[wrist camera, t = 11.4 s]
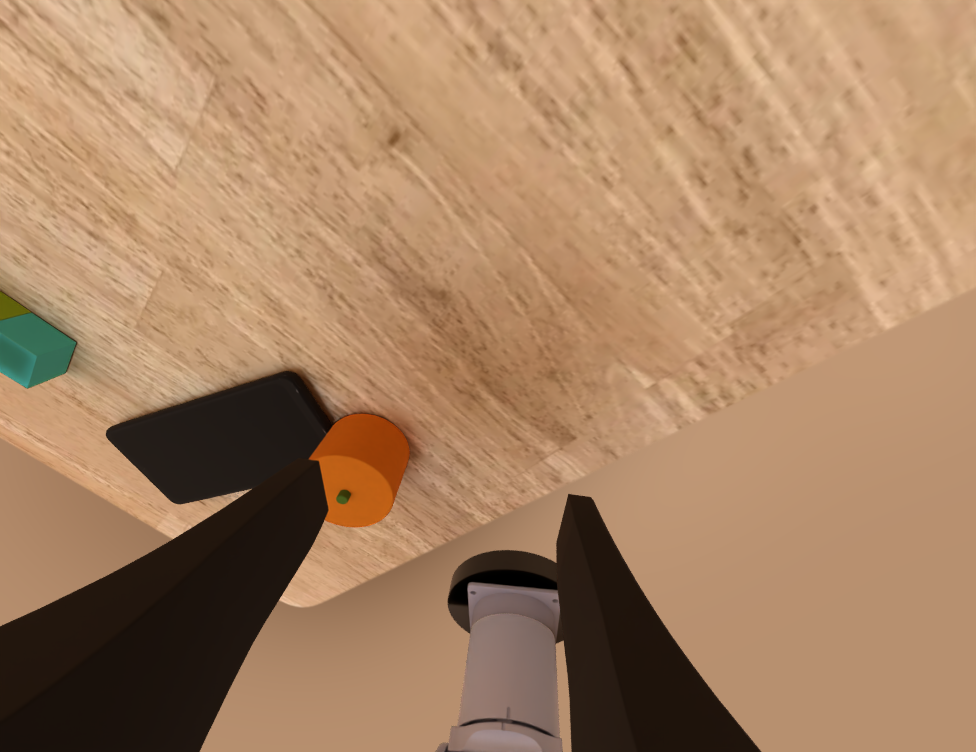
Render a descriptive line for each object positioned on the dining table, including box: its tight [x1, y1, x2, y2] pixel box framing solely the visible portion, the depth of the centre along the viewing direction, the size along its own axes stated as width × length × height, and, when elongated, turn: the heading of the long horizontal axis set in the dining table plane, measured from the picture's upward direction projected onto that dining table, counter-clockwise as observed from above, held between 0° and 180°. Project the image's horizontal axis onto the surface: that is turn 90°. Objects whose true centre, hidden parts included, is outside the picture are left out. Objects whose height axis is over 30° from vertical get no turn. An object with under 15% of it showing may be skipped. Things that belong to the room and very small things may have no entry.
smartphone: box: [106, 371, 332, 504], centre depth 23 cm, size 7×1×15 cm
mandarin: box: [309, 414, 410, 527], centre depth 20 cm, size 5×5×4 cm
